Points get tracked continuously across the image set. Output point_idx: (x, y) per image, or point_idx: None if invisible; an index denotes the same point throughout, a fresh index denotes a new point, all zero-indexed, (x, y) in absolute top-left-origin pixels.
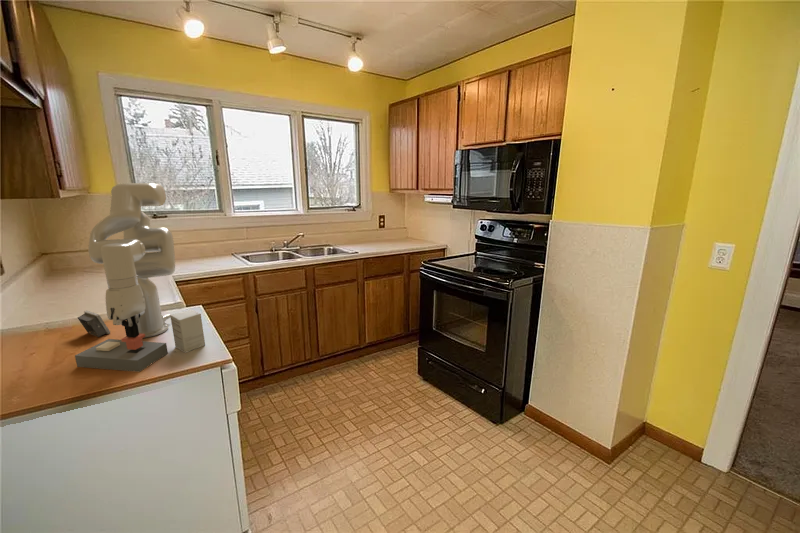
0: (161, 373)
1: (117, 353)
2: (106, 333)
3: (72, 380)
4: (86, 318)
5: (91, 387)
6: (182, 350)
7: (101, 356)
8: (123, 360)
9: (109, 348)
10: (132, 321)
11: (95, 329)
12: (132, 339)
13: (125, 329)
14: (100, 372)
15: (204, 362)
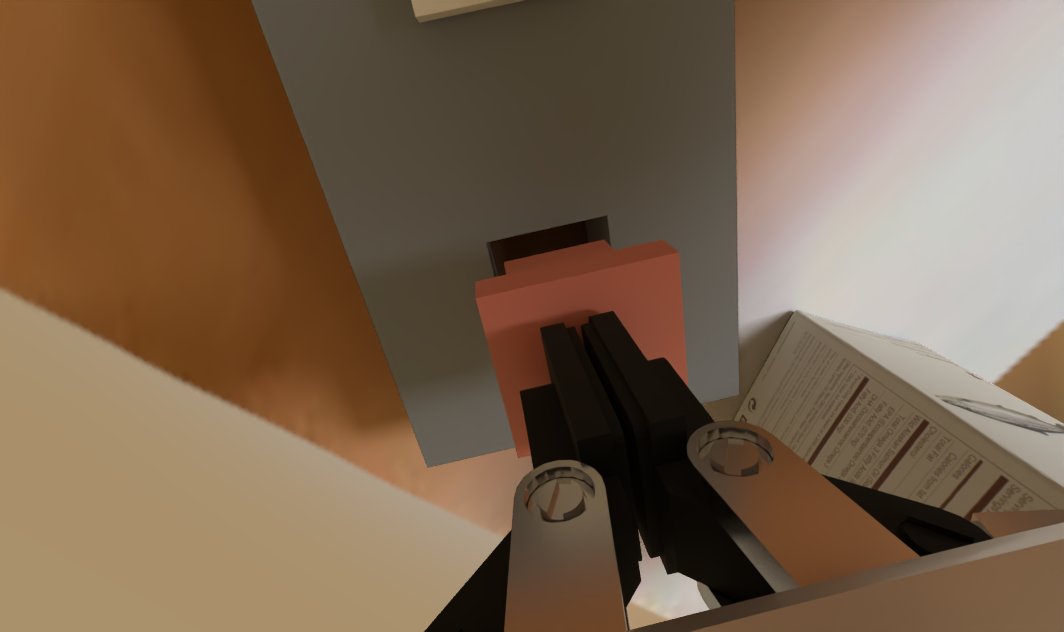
0: (477, 520)
1: (434, 185)
2: None
3: (65, 37)
4: None
5: (143, 315)
6: (742, 411)
7: (307, 79)
8: (387, 352)
9: (438, 14)
10: (709, 555)
11: None
12: (516, 443)
13: (531, 452)
14: (285, 142)
15: (645, 595)
